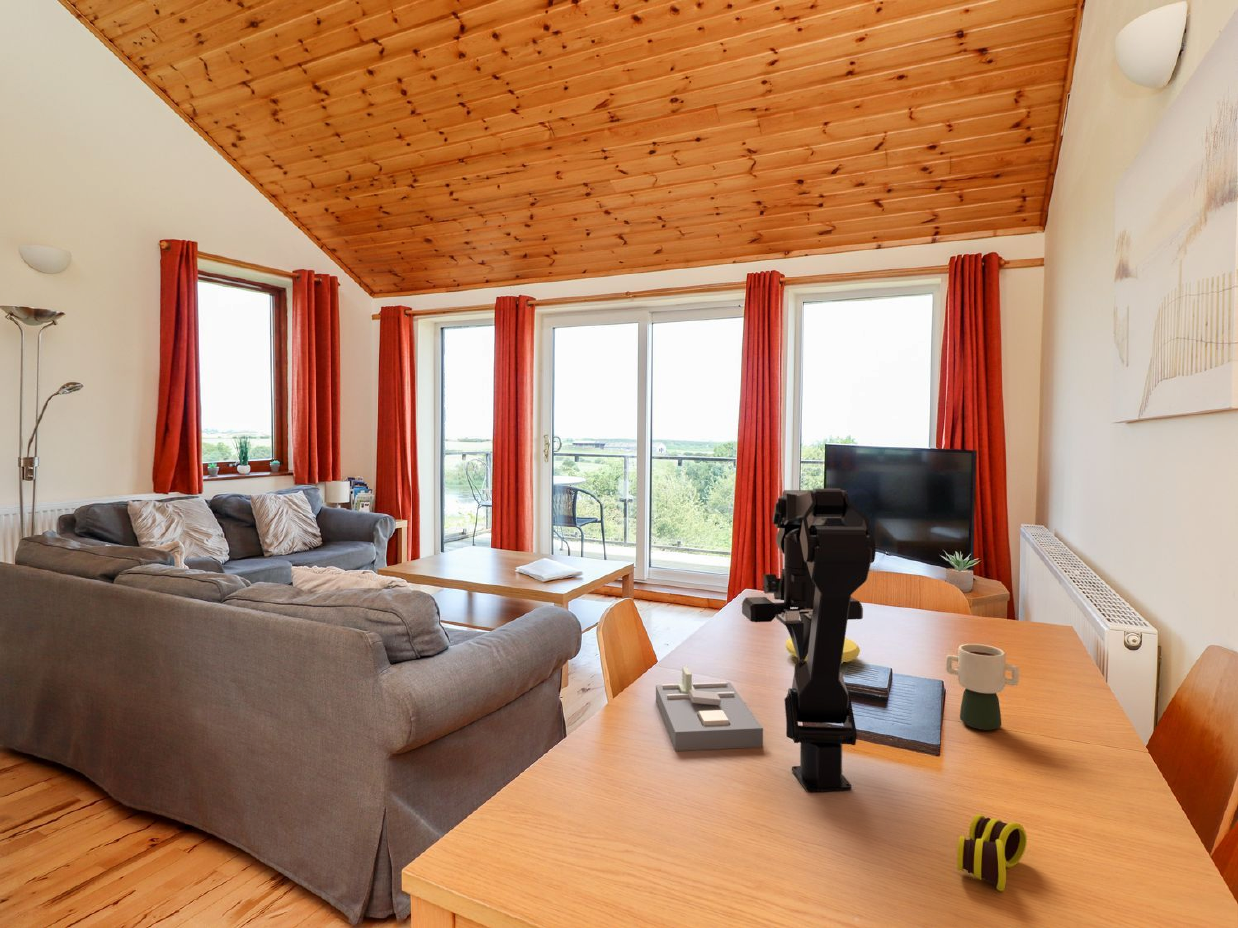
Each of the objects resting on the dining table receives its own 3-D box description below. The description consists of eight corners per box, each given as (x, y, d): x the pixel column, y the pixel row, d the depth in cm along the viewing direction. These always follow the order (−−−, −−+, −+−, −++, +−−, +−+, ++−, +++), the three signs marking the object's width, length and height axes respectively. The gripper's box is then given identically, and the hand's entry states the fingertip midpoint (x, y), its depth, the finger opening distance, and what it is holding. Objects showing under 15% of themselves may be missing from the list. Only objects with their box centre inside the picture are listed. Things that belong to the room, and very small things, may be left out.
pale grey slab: (720, 705, 115) (721, 699, 115) (692, 702, 115) (693, 696, 115) (715, 698, 119) (716, 692, 119) (688, 695, 118) (689, 689, 118)
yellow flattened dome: (876, 666, 145) (876, 633, 145) (815, 675, 139) (815, 641, 139) (827, 645, 160) (828, 615, 159) (770, 653, 154) (771, 622, 154)
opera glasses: (977, 842, 82) (978, 801, 82) (1026, 860, 79) (1027, 818, 78) (951, 880, 75) (951, 836, 75) (1004, 902, 72) (1005, 856, 71)
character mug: (1019, 726, 115) (1021, 650, 114) (1014, 741, 109) (1016, 661, 108) (948, 711, 121) (950, 638, 120) (940, 724, 115) (942, 649, 115)
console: (762, 746, 107) (763, 724, 107) (675, 750, 106) (675, 728, 106) (729, 698, 127) (730, 679, 127) (655, 701, 126) (655, 681, 126)
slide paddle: (695, 694, 120) (695, 674, 120) (682, 694, 120) (682, 674, 120) (691, 686, 124) (691, 667, 124) (678, 687, 124) (678, 667, 124)
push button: (728, 735, 109) (728, 719, 109) (703, 736, 108) (704, 720, 108) (722, 725, 113) (722, 709, 112) (698, 726, 112) (698, 710, 112)
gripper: (836, 556, 121) (835, 643, 121) (733, 558, 119) (733, 646, 120) (865, 568, 110) (863, 663, 110) (752, 570, 108) (751, 667, 108)
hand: (801, 659), depth 112 cm, fingers closed
